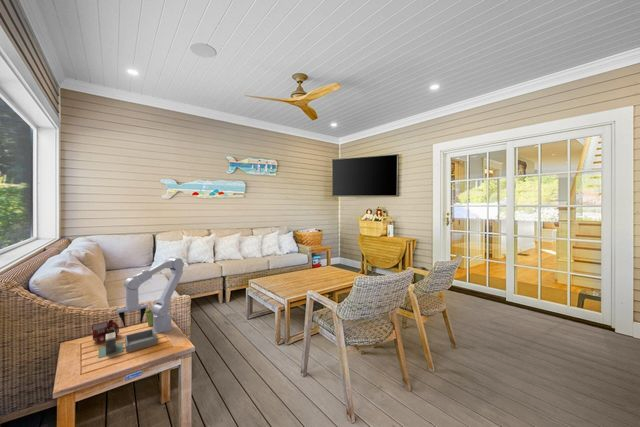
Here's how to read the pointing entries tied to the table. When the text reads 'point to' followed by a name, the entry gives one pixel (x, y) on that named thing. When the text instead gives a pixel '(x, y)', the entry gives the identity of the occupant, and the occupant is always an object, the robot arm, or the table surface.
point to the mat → (103, 353)
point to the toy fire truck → (104, 330)
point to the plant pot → (149, 317)
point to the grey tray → (140, 340)
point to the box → (110, 343)
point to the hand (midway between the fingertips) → (132, 323)
